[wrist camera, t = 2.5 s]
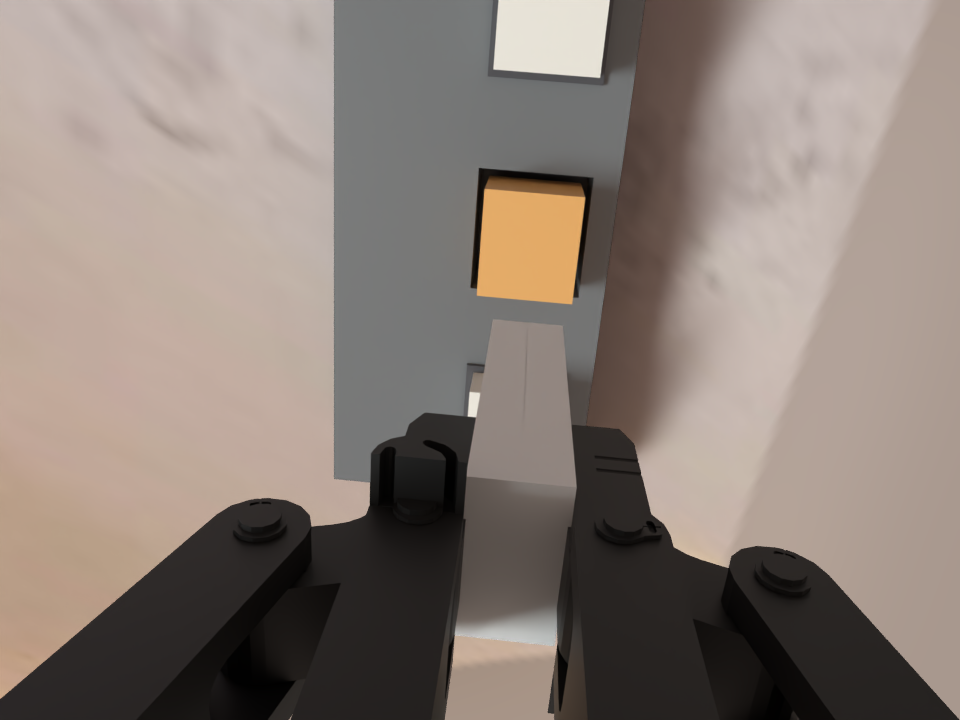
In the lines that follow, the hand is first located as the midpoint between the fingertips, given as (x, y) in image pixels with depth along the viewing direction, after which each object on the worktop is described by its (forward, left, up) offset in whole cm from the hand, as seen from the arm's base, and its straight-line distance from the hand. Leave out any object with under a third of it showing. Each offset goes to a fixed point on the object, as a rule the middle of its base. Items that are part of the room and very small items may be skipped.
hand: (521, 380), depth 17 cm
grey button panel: (0, -3, -18) cm, 19 cm away
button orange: (0, 0, -15) cm, 15 cm away
